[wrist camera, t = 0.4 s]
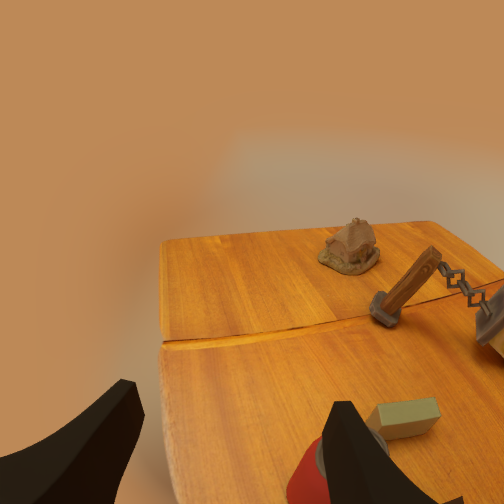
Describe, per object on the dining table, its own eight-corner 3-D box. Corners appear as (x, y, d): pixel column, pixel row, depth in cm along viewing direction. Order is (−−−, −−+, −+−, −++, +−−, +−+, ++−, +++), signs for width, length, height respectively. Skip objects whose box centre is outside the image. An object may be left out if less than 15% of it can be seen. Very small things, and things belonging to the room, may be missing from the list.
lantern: (477, 374, 42) (377, 290, 50) (537, 323, 31) (433, 219, 39) (475, 402, 36) (366, 313, 44) (545, 350, 25) (432, 235, 34)
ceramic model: (345, 281, 56) (355, 235, 51) (309, 255, 64) (315, 213, 59) (385, 263, 62) (395, 223, 57) (351, 242, 71) (358, 205, 66)
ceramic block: (424, 434, 26) (441, 416, 24) (367, 443, 26) (382, 425, 24) (419, 415, 29) (435, 396, 26) (364, 422, 29) (377, 403, 27)
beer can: (289, 464, 25) (312, 414, 19) (349, 467, 24) (393, 417, 18) (280, 516, 19) (302, 493, 13) (345, 519, 18) (397, 491, 12)
